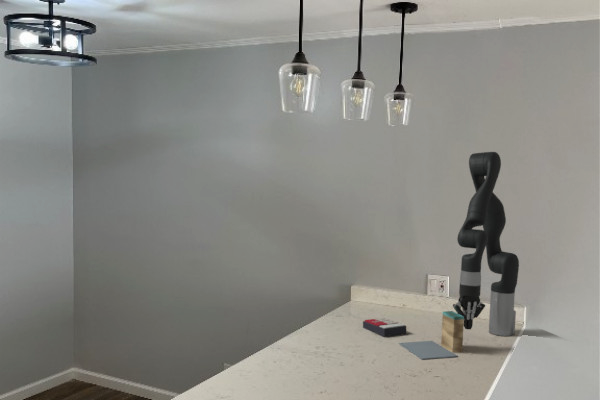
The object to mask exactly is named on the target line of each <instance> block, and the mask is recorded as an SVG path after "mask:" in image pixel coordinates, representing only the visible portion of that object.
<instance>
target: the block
mask: <svg viewBox="0 0 600 400" xmlns="http://www.w3.org/2000/svg"><path fill="white" fill-rule="evenodd" d="M441 321H442V323H441V338H440V339H441V343H440V344H441V345H440V346H442V347H444V348H445V349H447V350H449V351H450V352H452V353H462V352H463V343H464V316H462V315H460V314H458V313H457V312H456V311H453V310H447V311H446V310H445V311H442V320H441Z"/></svg>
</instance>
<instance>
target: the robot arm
mask: <svg viewBox="0 0 600 400" xmlns="http://www.w3.org/2000/svg"><path fill="white" fill-rule="evenodd" d="M501 165H502V160H501V157H500V155H499V153H498V152H496V151H486V152H485V151H483V152H474V153H472V154H471V155H470V156H469V159H468V168H469V172H470V176H471V179H472V183H473V186H474V189H475V193H474V194H473V196H472V197H471V199H470V200H469V203H468V209H467V212H466V217H465V220H464V221H463V224H462V226H461V228H460V230H459V231H458V234H457V238H456V239H457V243H458V245H459V247H461V248H465V249H474V250H475V251H474V252H473V253H467V254H462V256H461V261H460V262H461V263H460V264H461V265H460V274H459V291H458V294H459V297H458V299H457V302H456V303H453V304H452V307H453V308H454V310H455V313H457V314H460V315H462V316H464V326H463V328H464V329H465V330H472V328H473V324H474V323H473V322H474V319H475V318H478V317H479V316H480V315H481V313H482V311H483V310H484V309H485V308H486V304H484V303H482V301H481V298H480V296H481V290H482V289H481V286H482V272H481V271H482V260H483V259H482V258H483V256H484V255H483V254H484V251H485V249H486V259H487V265H488V269H489V271H490V272H492V273H494V274H498V275H501V278H500V280H499V281H495V282H492V283H491V285H490V300H489V301H490V302H489V319H488V332H489V333H490V334H492V335H495V336H501V337H509V336H512V335H515V333H516V315H517V311H516V310H515V297H516V295H515V294H516V287H517V285H518V279H519V278H518V277H519V270H520V261H519V257H518V255H517V254H516V253H513V252H507V251H503V250H502V247H501V235H502V233H503V230H504V229H505V226H506V223H507V218H506V213H505V208H504V204H503V202H502V201H501V199H500V198H499V197H498V196H497V195H496V194H495V193H494V192H493V191H494V190H495V186H496V184H497V181H498V178H499V175H500V172H501V167H502V166H501ZM476 227H482V228H483V229H474V228H476Z"/></svg>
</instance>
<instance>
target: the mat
mask: <svg viewBox="0 0 600 400" xmlns="http://www.w3.org/2000/svg"><path fill="white" fill-rule="evenodd" d="M398 344H399V346H401V347H402V348H404V349H406V350H407V351H408V352H409V353H410V352H411V354H413V355H414V356H416V357H417V358H419V359H420V360H434V359H435V360H436V359H447V358H449V359H450V358H458V355H457V354H455V352H451V351H449V350H448V349H446V348H444V347H443V346H441V345H440V344H439V343H437V342H436V341H433V340H424V341H423V340H422V341H409V342H408V341H407V342H405V341H404V342H398Z"/></svg>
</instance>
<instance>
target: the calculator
mask: <svg viewBox="0 0 600 400" xmlns="http://www.w3.org/2000/svg"><path fill="white" fill-rule="evenodd" d="M362 328H363V329H364V330H366V331H370V332H372V333H375V334H377V335H378V336H380V337H382V338H391V337H397V336H398V337H399V336H405V335H407V325H406V324H403V323H399V322H398V321H396V320H393V319H390V318H386V317H379V318H371V319H364V320H363V321H362Z"/></svg>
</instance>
